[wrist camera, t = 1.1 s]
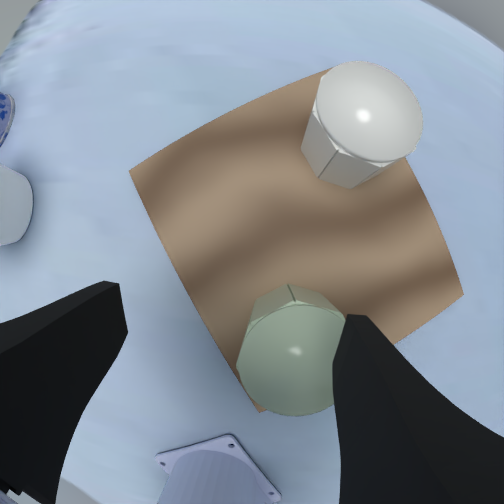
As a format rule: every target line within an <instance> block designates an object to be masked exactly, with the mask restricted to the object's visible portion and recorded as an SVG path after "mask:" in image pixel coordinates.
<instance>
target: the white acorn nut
mask: <svg viewBox="0 0 504 504" xmlns="http://www.w3.org/2000/svg"><path fill="white" fill-rule="evenodd" d="M422 130H423V116H422V111H421V108H420V105H419V102H418V100H417V98H416V96H415V95H414V93H413V92H412V90H411V89H410V88H409V86H408V85H407V84H406V83H405V82H404V81H403V80H402V79H401V78H400V77H399V76H397V75H396V74H394V73H393V72H392V71H390V70H388V69H386V68H384V67H382V66H380V65H377V64H374V63H370V62H364V61H351V62H346V63H342V64H339V65H337V66H335V67H334V68H332V69H331V70H330V71H328V72H327V73H326V74H325V75H323V76H322V77H321V80H320V83H319V87H318V90H317V94H316V97H315V100H314V103H313V107H312V110H311V113H310V117H309V120H308V124H307V127H306V131H305V134H304V138H303V141H302V145H301V151H302V153H303V154H304V156H305V158H306V159H307V161H308V163H309V165H310V166H311V168H312V170H313V171H314V173H315V175H316V177H317V178H318V177H319V179H320V180H323V181H327V182H330V183H333V184H336V185H338V186H341V187H344V188H347V189H352V188H354V187H356V186H358V185H360V184H362V183H364V182H366V181H367V180H369V179H371V178H373V177H375V176H377V175H378V174H380V173H382V172H383V171H385V170H386V169H388V168H389V167H391V166H392V165H394V164H395V163H397V162H398V161H400V160H402V159H403V158H405V157H406V156H408V155H409V154H411V153H412V152H414V150H415V149H416V145H417V143H418V142H419V140H420V137H421V134H422Z"/></svg>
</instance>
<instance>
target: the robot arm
mask: <svg viewBox="0 0 504 504" xmlns="http://www.w3.org/2000/svg"><path fill="white" fill-rule="evenodd" d="M127 334H128V330H127V325H126V320H125V315H124V309H123V304H122V298H121V292H120V286H119V283H113V282H108V281H102V282H99V283H96V284H93V285H91V286H88V287H86V288H84V289H81V290H79V291H77V292H75V293H73V294H70V295H68V296H66V297H64V298H62V299H59V300H57V301H55V302H53V303H51V304H49V305H46V306H44V307H42V308H39V309H37V310H35V311H32V312H30V313H28V314H25V315H23V316H20V317H18V318H15V319H12V320H9V321H6V322H3V323H0V504H17V503H16V502H15V501H14V500H12V499H11V498H10V497H8V496H7V495H6V494H7V492H8V490H9V489H10V490H11V491H13V492H14V493H15V494H17V495H20V494H21V492H22V491H23V492H25V493H26V494H27V495H29V496H30V497H32V498H33V499H35V500H36V501H38V502H39V503H41V504H55V502H56V495H57V490H58V484H59V479H60V475H61V471H62V467H63V464H64V460H65V457H66V454H67V451H68V448H69V445H70V442H71V439H72V437H73V434H74V432H75V429H76V427H77V425H78V422H79V420H80V418H81V415H82V413H83V411H84V409H85V408H86V406H87V404H88V402H89V401H90V399H91V397H92V396H93V394H94V393H95V391H96V389H97V388H98V386H99V385H100V383H101V381H102V380H103V378H104V377H105V375H106V374H107V372H108V370H109V369H110V367H111V366H112V364H113V362H114V361H115V359H116V358H117V356H118V354H119V352H120V350H121V348H122V345H123V343H124V341H125V339H126V336H127ZM332 386H333V398H334V405H335V413H336V421H337V428H338V436H339V445H340V456H341V479H340V498H339V504H504V437H502V436H500V435H498V434H496V433H495V432H493V431H491V430H490V429H488V428H486V427H485V426H483V425H482V424H480V423H479V422H477V421H476V420H474V419H473V418H472V417H470V416H469V415H467V414H466V413H464V412H463V411H462V410H461V409H459V408H458V407H457V406H455V405H454V404H453V403H452V402H451V401H449V400H448V399H447V398H446V397H445V396H443V395H442V394H441V393H440V392H439V391H438V390H437V389H435V388H434V387H433V386H432V385H431V384H430V383H429V382H428V381H427V380H426V379H425V378H424V377H423V376H422V375H421V374H420V373H419V372H418V371H417V370H416V369H415V368H414V367H413V366H412V365H411V364H410V363H409V362H408V361H407V360H406V359H405V358H404V356H403V355H402V354H401V353H400V352H399V351H398V350H397V349H396V348H395V346H394V345H393V344H392V343H391V342H390V341H389V340H388V339H387V337H386V336H385V335H384V334H383V333H382V332H381V331H380V329H379V328H378V327H377V326H376V325H375V324H374V323H373V322H372V321H371V319H370V318H369V317H368V316H367V315H355V314H347V317H346V320H345V324H344V327H343V331H342V334H341V337H340V340H339V344H338V347H337V350H336V353H335V356H334V359H333V362H332ZM231 443H232V444H234V445H230V444H231ZM155 460H156V462H157V463H158V464H159V465H160V466H161V467H162V468H163V470H164V471H165V472H166V473H167V474H168V475H169V478H168V481H167V483H166V485H165V487H164V489H163V492H162V494H161V496H160V498H159V500H158V503H157V504H273V503H274V502H277V501H280V500H281V499H282V496H281V494H280V493H279V492H278V491H277V490H276V489H275V487H274V486H273V485H272V484H271V483H270V482H269V480H268V479H267V478H266V477H265V476H264V475H263V473H262V472H261V471H260V470H259V468H258V467H257V466H256V465H255V464H254V462H253V461H252V460H251V459H250V457H249V456H248V455H247V453H246V452H245V451H244V450H243V448H242V447H241V446H240V444H239V443H238V442H237V440H236V439H235V438H234V437H233V436H232V435H224V436H221V437H218V438H215V439H212V440H209V441H205V442H202V443H198V444H195V445H191V446H188V447H184V448H180V449H177V450H173V451H169V452H164V453H160V454H157V455H156V456H155ZM163 462H164V463H163Z"/></svg>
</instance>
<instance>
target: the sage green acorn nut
mask: <svg viewBox="0 0 504 504" xmlns="http://www.w3.org/2000/svg"><path fill="white" fill-rule="evenodd" d="M344 324H345V318H344V316H343V314H342V313H341V312H340V311H339V310H338V309H337V308H336V307H335V306H333V305H332V304H331V303H330V302H329V301H328V300H327V299H326V298H325V297H324V296H323V295H322V294H321V293H319V292H316V291H313V290H309V289H306V288H302V287H299V286H296V285H292V284H289V283H288V285H287V284H284V285H282V286H280V287H278V288H277V289H275V290H273V291H271V292H269V293H267V294H265V295H263V296H261V297H259V298H257V299H256V300H255V303H254V306H253V309H252V312H251V315H250V319H249V322H248V325H247V328H246V331H245V335H244V338H243V342H242V346H241V349H240V353H239V356H238V360H237V363H236V368H237V370H238V372H239V374H240V379H241V381H242V384H243V386H244V388H245V390H246V392H247V393H248V394H249V396H250V397H251V398H252V399H253V400H254V401H255V402H256V403H258V404H259V405H260V406H262V407H263V408H265V409H267V410H269V411H271V412H274V413H277V414H280V415H286V416H304V415H310V414H314V413H317V412H320V411H322V410H324V409H326V408H328V407H330V406H332V405H333V404H334V398H333V386H332V362H333V359H334V356H335V353H336V350H337V347H338V344H339V340H340V337H341V334H342V331H343V327H344Z"/></svg>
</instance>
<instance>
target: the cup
mask: <svg viewBox="0 0 504 504" xmlns="http://www.w3.org/2000/svg"><path fill="white" fill-rule="evenodd" d="M32 208H33V194H32V189H31V185H30V183H29V181H28V179H27V178H26V177H25V176H23V175H22V174H20V173H18V172H16V171H14V170H12V169H10V168H8V167H6V166H4V165H2V164H0V246H2V245H6V244H11V243H15V242H17V241H18V240H19V239H20V238H21V237H22V236H23V235H24V233H25V232H26V230H27V228H28V225H29V222H30V219H31V215H32Z"/></svg>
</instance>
